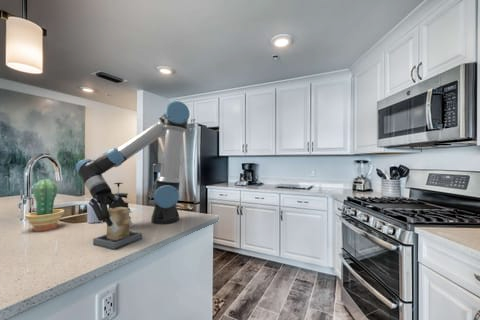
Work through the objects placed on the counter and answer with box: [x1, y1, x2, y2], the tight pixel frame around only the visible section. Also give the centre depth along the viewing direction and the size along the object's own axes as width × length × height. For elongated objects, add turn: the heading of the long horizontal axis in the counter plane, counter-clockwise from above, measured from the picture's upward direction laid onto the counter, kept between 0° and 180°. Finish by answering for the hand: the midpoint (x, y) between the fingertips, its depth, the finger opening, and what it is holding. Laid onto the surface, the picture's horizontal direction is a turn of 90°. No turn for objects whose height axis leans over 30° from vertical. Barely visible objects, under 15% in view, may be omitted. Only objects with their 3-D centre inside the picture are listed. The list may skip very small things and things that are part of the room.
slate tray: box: [92, 230, 143, 251], centre depth 94 cm, size 13×13×2 cm
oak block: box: [106, 207, 130, 240], centre depth 94 cm, size 6×6×12 cm
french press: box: [108, 182, 129, 209], centre depth 116 cm, size 12×9×23 cm
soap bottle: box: [86, 197, 103, 224], centre depth 126 cm, size 9×9×25 cm
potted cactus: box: [24, 179, 65, 232], centre depth 115 cm, size 16×15×25 cm
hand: (124, 228), depth 93 cm, fingers closed on oak block, 6 cm apart
